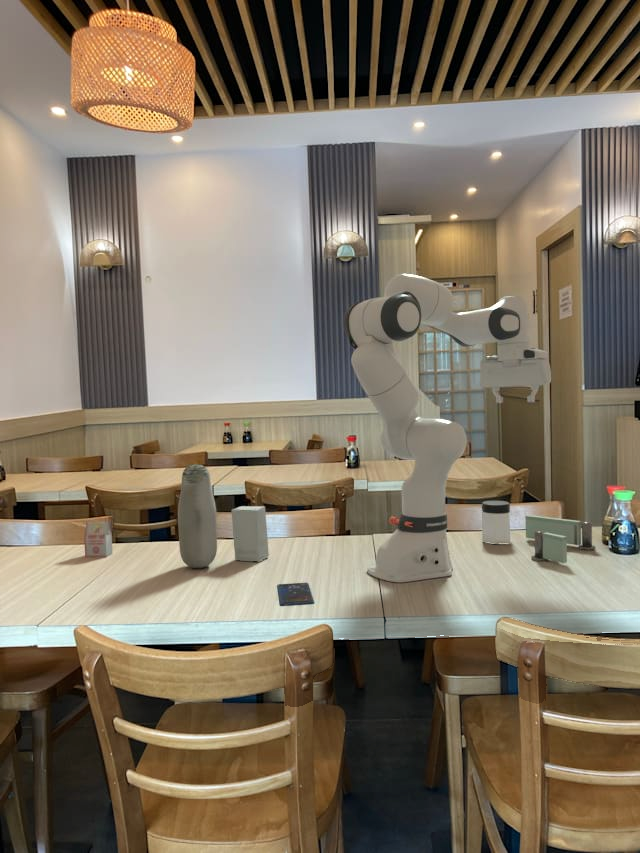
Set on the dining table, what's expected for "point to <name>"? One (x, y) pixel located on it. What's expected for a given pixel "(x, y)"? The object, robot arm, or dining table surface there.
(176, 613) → the dining table surface
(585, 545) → the hinge post
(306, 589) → the smartphone
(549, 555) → the fence panel
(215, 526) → the grey tall rounded cylinder
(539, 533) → the post
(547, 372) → the robot arm
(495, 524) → the jar
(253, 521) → the skincare box
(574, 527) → the gate
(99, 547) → the white printed carton
